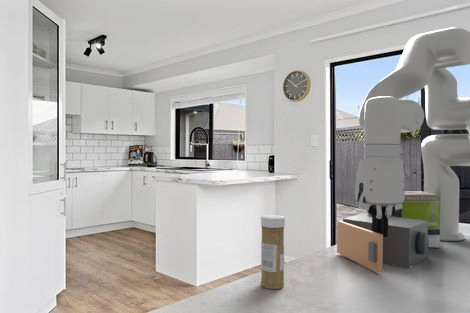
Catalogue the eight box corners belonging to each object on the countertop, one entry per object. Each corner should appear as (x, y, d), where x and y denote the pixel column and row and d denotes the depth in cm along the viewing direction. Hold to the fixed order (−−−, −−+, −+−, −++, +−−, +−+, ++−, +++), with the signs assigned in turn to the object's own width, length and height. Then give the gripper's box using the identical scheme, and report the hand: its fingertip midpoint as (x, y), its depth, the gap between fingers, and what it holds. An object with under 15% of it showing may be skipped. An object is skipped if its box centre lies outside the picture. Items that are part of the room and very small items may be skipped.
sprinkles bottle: (289, 286, 69) (289, 216, 69) (270, 291, 67) (271, 218, 67) (273, 279, 73) (274, 213, 73) (255, 284, 71) (256, 215, 70)
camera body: (364, 244, 102) (365, 209, 101) (433, 257, 89) (433, 218, 89) (342, 254, 92) (343, 215, 92) (415, 269, 80) (416, 225, 80)
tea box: (423, 240, 108) (423, 190, 108) (440, 249, 98) (441, 194, 98) (371, 239, 109) (372, 189, 109) (384, 247, 99) (384, 193, 99)
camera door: (340, 252, 92) (340, 220, 92) (382, 272, 77) (382, 234, 76) (334, 252, 91) (334, 221, 91) (375, 273, 76) (375, 235, 76)
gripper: (397, 154, 86) (396, 231, 86) (342, 152, 82) (340, 233, 82) (422, 154, 79) (420, 238, 79) (362, 152, 75) (361, 241, 75)
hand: (379, 235), depth 81 cm, fingers closed
